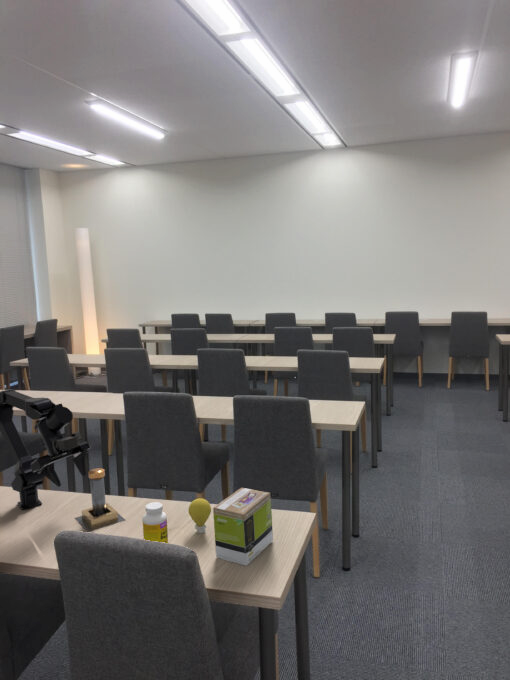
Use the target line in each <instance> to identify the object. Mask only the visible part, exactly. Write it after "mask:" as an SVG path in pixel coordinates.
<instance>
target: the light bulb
mask: <svg viewBox="0 0 510 680" xmlns="http://www.w3.org/2000/svg"><path fill="white" fill-rule="evenodd" d="M211 512H212V507H211V504H210V502H209V500H207V499H205V498H195V499H194V500H192V502H190V504H189V507H188V514H189V516H190V518H191V519H192V521H193V522H194V523H195V526H194V529H195V530H196V533H198V534H203V533H205V531H206V529H207V523H206V522H207V521H208V520H209V517H210V515H211Z"/></svg>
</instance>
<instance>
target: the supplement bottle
mask: <svg viewBox="0 0 510 680" xmlns="http://www.w3.org/2000/svg"><path fill="white" fill-rule="evenodd" d="M163 507H164V506H163V503H162V502H157V501H154V502H149V503H148V504H146V505H145V514H144V515H143V516H142V533H143V534H142V535H143V540H144V539H145V540H150V541H158V542H165V543H168V544H169V535H168V534H169V532H168V517H167V514H166V512H164V511H163V510H164V508H163Z"/></svg>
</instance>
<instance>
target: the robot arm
mask: <svg viewBox="0 0 510 680" xmlns="http://www.w3.org/2000/svg"><path fill="white" fill-rule="evenodd" d="M14 408H17V409H19V410H21V411H24V413H25V415H26V417H28V418H29V419H31V420H34V421H35V420H36V421H35V425H34V430H35V431H36V430H38V431H39V434H40V435H41V439H42V440H43V442H44V443H43V444H42V446H43V448H45V447H46V450H47V451H48V453H49V454H46V455H42V456H40V457H32V456H30V454H29V451H28V449H27V447H26V445H25V443H24V441H23V439H22V437H21V435H20V433H19V430H18V429H17V427H16V425H15V423H14V421H13V417H14V412H15V411H14ZM73 418H74V415H73V411H71V410H70V409H69V408H68V407H66V406H64V404H63V403H58V404H56V403H54V402H53V400H51V398H48V397H32V396H29V395H28V394H27V395H26V394H24V393H22V392H19V391H16V389H12V388H10V389H4V390H1V391H0V434H1V436H2V438H3V441H4V442H5V445H6V447H7V449H8V450H9V453H10V455H11V457H12V459H13V461H14V463H15V468H14V472H13V473H14V476H15V477H14V479H13V480H12V481H11V488H12V490H13V491H15V492H18V494H19V501H18V502H17V505H18V507H19V508H20V510H22V511H23V510H24V511H25V510H26V509H30V508H33V507H34V508H35V507H38V506H41V505H42V504H43V503H42V501H41V500H40V499H39V491H38V486H40V485H44V480H45V478H46V479H48V480H49V481H51V482H52V483H53V484H54V485H55V486H56V487H58V488H60V487H61V486H62V483H61V480H60V478H59V477H58V474H57V472H56V470H55V462H57V461H60V460H63V459H65V458H69V457H70V456H71V457H73V458H72V461H73V464H74V465H75V467H76V468H77V470H78V471H79V473H80V475H81V476H82V477H85V476H86V475H87V474H86V473H87V472H86V456H87V453H89V450H90V449H92V447H91V445H90V443H89V442H88V441H83V437H82V435H81V433H80V432H79V431H76V432H75V431H74V432H72V433H71V435H70V436H67V435H66V434H65V433H62V431H61V430H63V428H65V427H66V426H67V425H69V424H70V423H72V421H73Z"/></svg>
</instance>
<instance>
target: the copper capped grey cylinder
mask: <svg viewBox="0 0 510 680" xmlns="http://www.w3.org/2000/svg"><path fill="white" fill-rule="evenodd" d="M105 471H106V469H104V468H101V467H100V468H99V467H98V468H92V469H90V470H89V471H88V478H89V479H90V491H91V506H92V507H91V508H93V517H96V516H100V515H103V514H106V504H107V503H106V502H107V501H106V490H105V476H106V473H105Z"/></svg>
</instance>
